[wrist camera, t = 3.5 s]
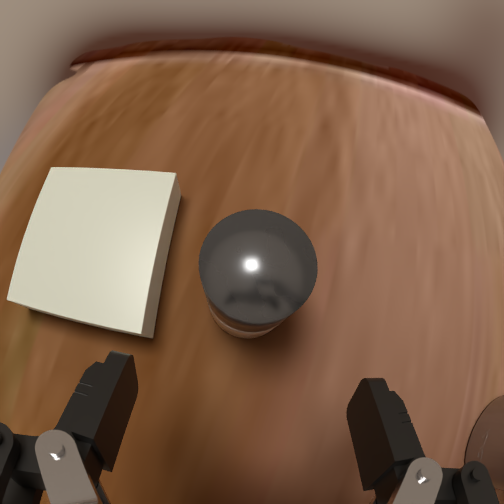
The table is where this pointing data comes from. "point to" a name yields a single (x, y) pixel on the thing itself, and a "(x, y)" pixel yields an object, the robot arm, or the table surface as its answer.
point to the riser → (98, 247)
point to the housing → (256, 271)
